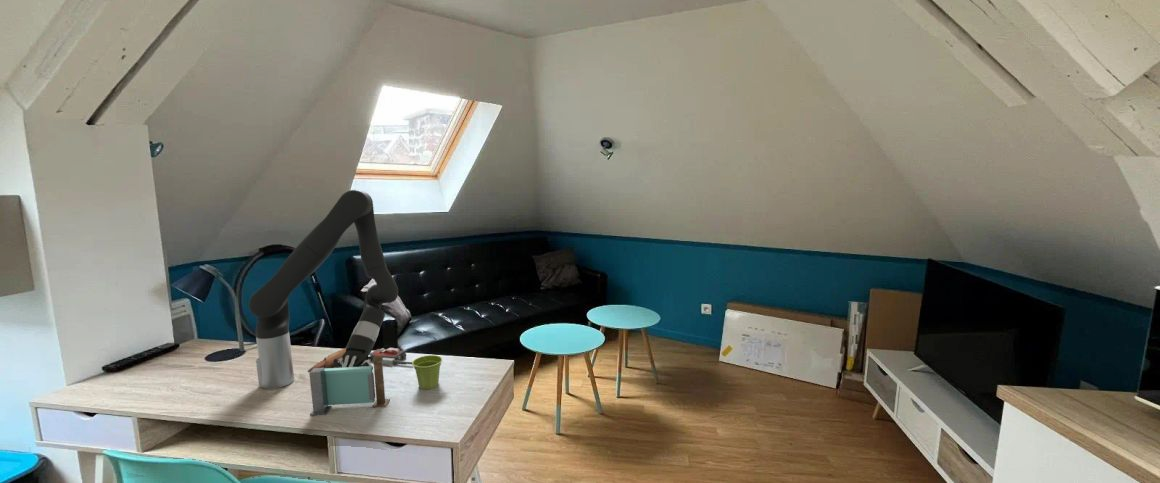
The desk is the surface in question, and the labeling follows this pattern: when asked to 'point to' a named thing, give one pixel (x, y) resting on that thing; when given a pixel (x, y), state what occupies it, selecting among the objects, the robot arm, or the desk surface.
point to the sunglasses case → (329, 360)
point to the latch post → (319, 392)
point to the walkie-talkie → (390, 356)
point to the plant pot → (427, 371)
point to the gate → (350, 385)
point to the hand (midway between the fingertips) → (340, 391)
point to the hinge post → (379, 383)
